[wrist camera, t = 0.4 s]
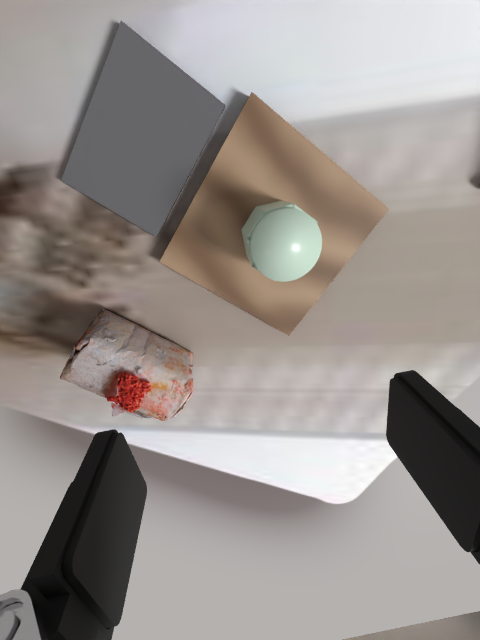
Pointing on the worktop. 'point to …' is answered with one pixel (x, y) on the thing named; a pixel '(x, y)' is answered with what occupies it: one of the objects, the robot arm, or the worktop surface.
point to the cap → (282, 241)
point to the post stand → (263, 188)
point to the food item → (131, 368)
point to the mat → (141, 133)
